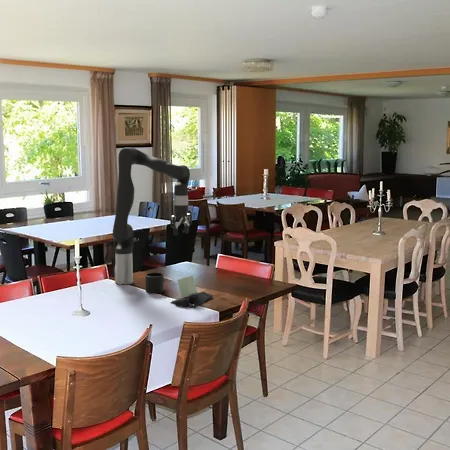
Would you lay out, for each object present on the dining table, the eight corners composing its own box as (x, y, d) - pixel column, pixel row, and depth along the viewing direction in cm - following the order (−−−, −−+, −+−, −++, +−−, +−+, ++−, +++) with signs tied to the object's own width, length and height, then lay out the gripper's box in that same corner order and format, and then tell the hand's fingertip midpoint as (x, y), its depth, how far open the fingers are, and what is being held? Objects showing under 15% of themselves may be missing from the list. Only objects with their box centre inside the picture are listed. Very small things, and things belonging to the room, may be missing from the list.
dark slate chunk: (217, 300, 284) (217, 291, 283) (191, 311, 266) (191, 301, 265) (193, 295, 292) (193, 286, 291) (166, 305, 274) (166, 296, 273)
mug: (170, 289, 299) (170, 273, 298) (154, 294, 290) (154, 277, 288) (157, 286, 305) (157, 270, 303) (142, 291, 295) (141, 275, 294)
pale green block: (181, 297, 278) (177, 279, 278) (189, 294, 282) (184, 277, 283) (189, 295, 274) (185, 277, 275) (197, 293, 279) (192, 275, 279)
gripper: (184, 202, 300) (185, 231, 303) (166, 204, 289) (166, 235, 291) (195, 203, 295) (195, 233, 298) (177, 205, 284) (177, 237, 287)
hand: (181, 234), depth 295 cm, fingers open, 8 cm apart
